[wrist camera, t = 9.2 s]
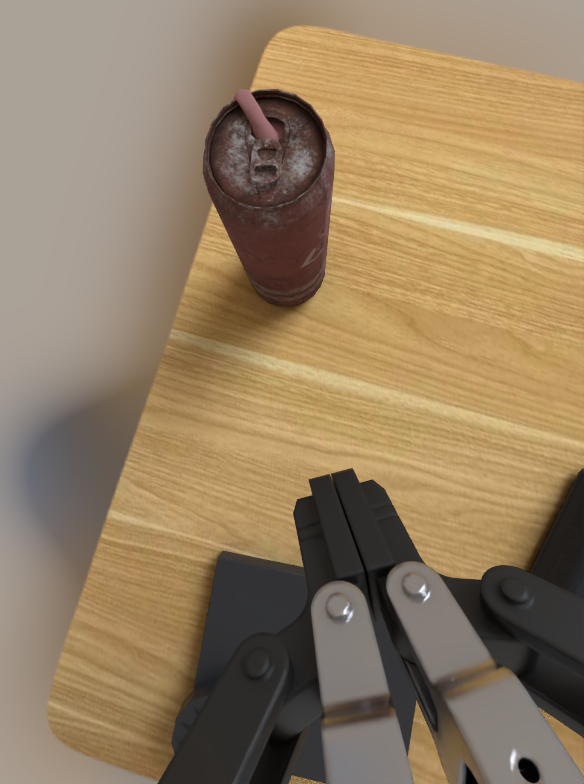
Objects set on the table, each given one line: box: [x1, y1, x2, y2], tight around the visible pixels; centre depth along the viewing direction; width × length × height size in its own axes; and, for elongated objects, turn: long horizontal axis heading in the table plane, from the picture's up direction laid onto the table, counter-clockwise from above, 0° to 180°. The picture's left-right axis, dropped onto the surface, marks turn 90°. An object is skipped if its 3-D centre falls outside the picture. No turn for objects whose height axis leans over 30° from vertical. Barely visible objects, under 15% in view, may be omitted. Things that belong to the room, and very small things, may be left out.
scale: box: [172, 551, 416, 783], centre depth 26 cm, size 17×14×3 cm
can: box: [203, 89, 335, 306], centre depth 23 cm, size 6×6×14 cm
